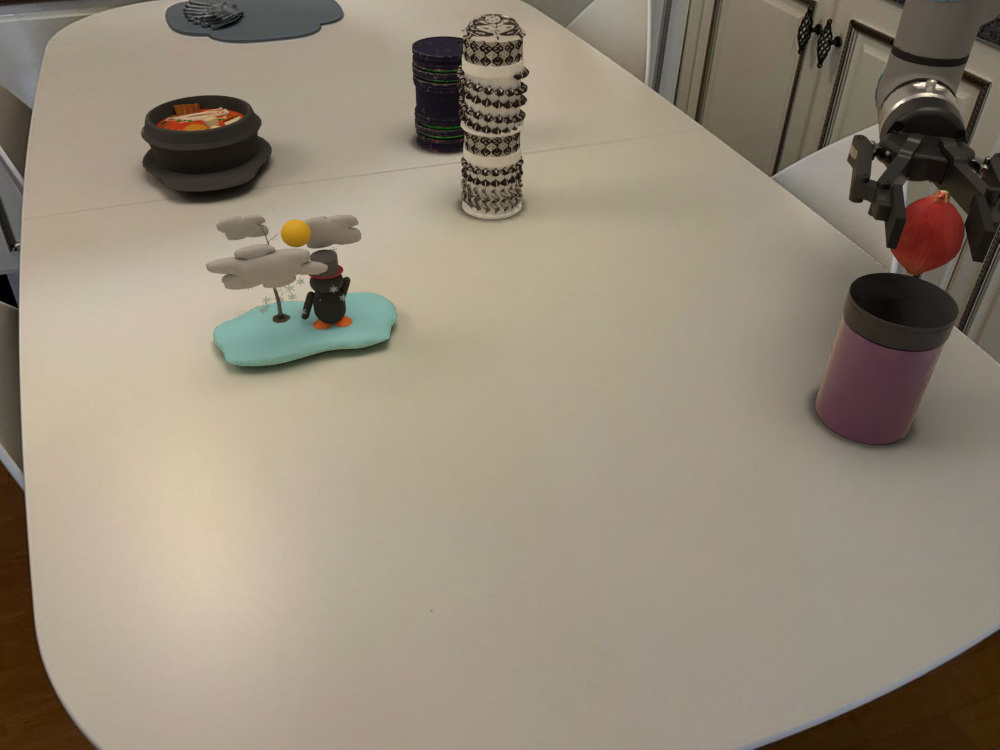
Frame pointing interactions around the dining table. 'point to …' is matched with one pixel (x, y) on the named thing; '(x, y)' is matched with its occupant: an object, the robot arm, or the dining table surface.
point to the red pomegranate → (930, 234)
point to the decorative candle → (492, 115)
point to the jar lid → (900, 311)
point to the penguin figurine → (295, 324)
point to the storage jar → (438, 93)
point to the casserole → (204, 143)
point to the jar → (872, 387)
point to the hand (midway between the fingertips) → (939, 240)
